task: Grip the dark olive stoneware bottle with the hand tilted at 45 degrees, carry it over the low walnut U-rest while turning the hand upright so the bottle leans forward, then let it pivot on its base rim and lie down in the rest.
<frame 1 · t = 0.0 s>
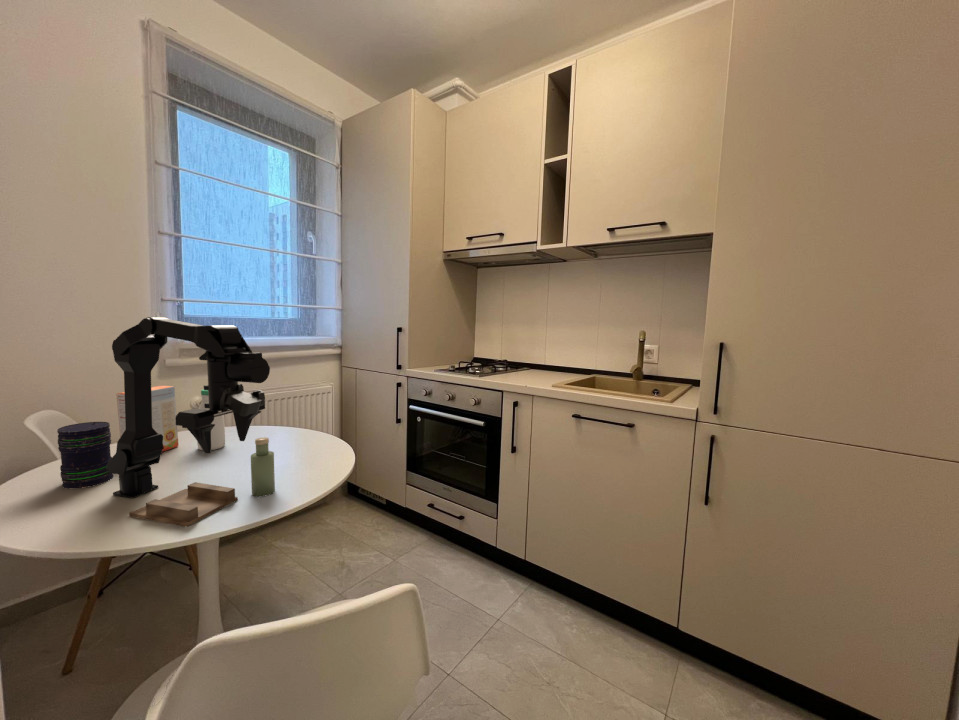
hand: (225, 446, 90), 15 cm above the table, tool pointing down, fingers open, 9 cm apart
cracker box: (151, 453, 126), on the table
walnut U-rest: (182, 507, 91), on the table
milk bottle: (211, 447, 132), on the table
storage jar: (88, 481, 104), on the table
olive bottle: (263, 492, 100), on the table
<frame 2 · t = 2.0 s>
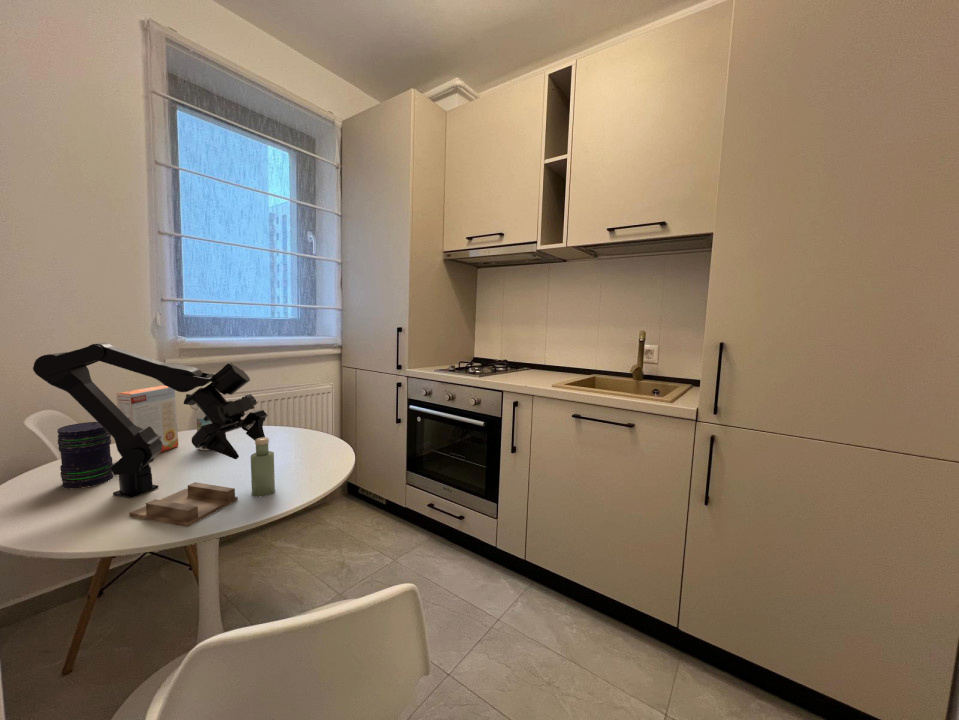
hand: (252, 451, 100), 10 cm above the table, tool tilted 45°, fingers open, 9 cm apart
nothing on the table moved.
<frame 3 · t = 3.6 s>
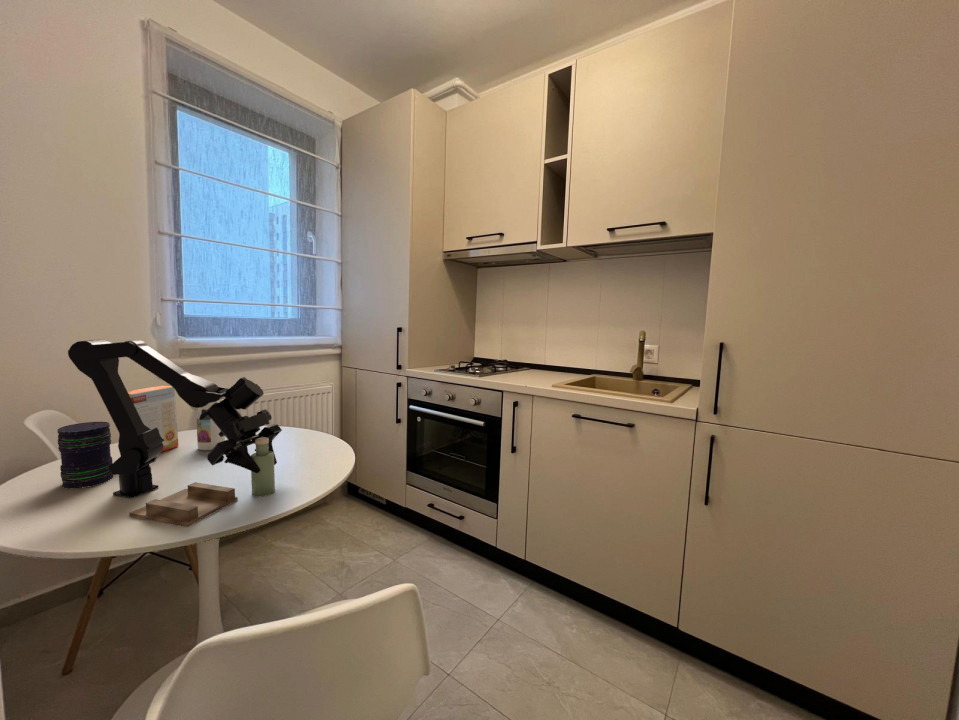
hand: (267, 467, 99), 7 cm above the table, tool tilted 45°, fingers closed on olive bottle, 5 cm apart
olive bottle: (263, 492, 100), on the table, touching gripper
everything else where it was.
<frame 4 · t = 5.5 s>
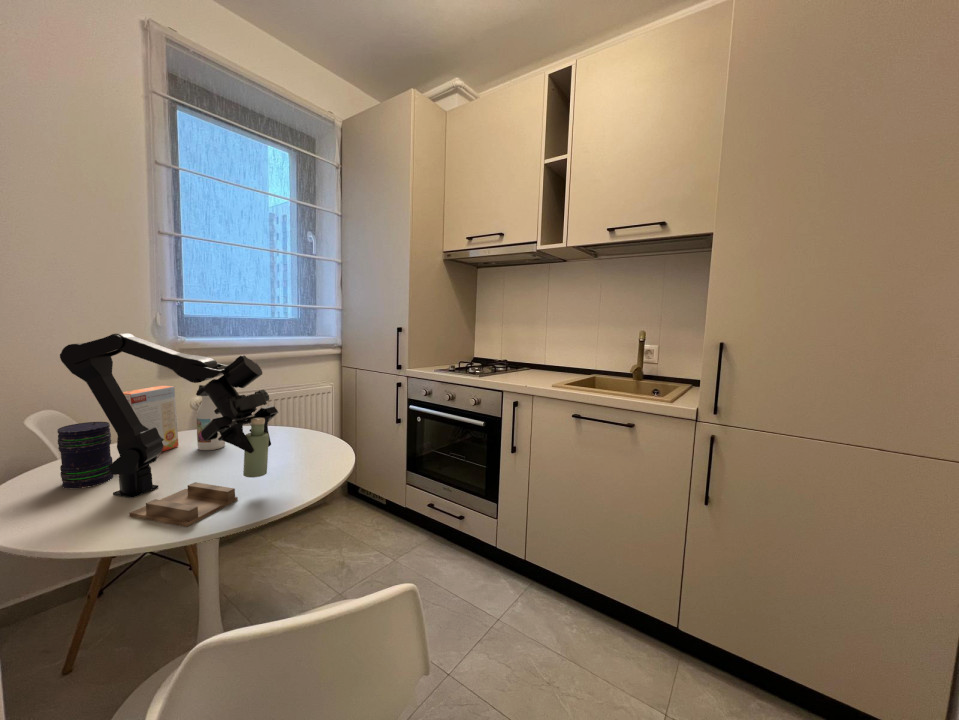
hand: (261, 448, 98), 12 cm above the table, tool tilted 40°, fingers closed on olive bottle, 5 cm apart
olive bottle: (255, 473, 98), point 5 cm above the table, touching gripper
everything else where it was.
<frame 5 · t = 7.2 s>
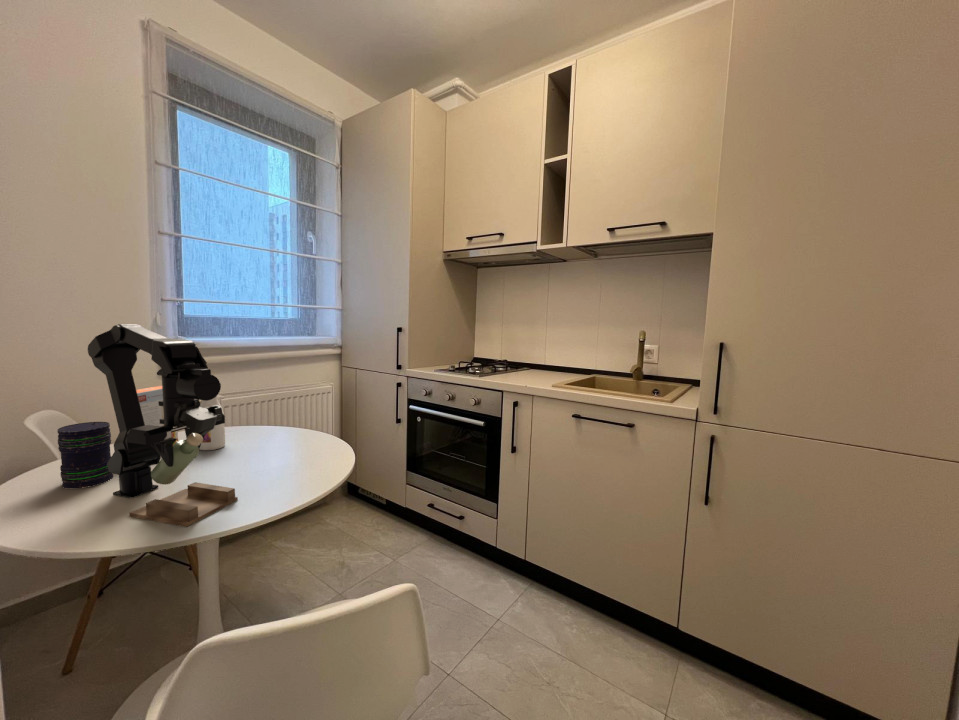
hand: (182, 462, 90), 11 cm above the table, tool pointing down, fingers closed on olive bottle, 5 cm apart
olive bottle: (164, 474, 92), point 7 cm above the table, tilted 45°, touching gripper
everything else where it was.
when the fingers open (7 cm above the table, at t = 8.9 s): olive bottle moves 2 cm and tips over, resting on walnut U-rest.
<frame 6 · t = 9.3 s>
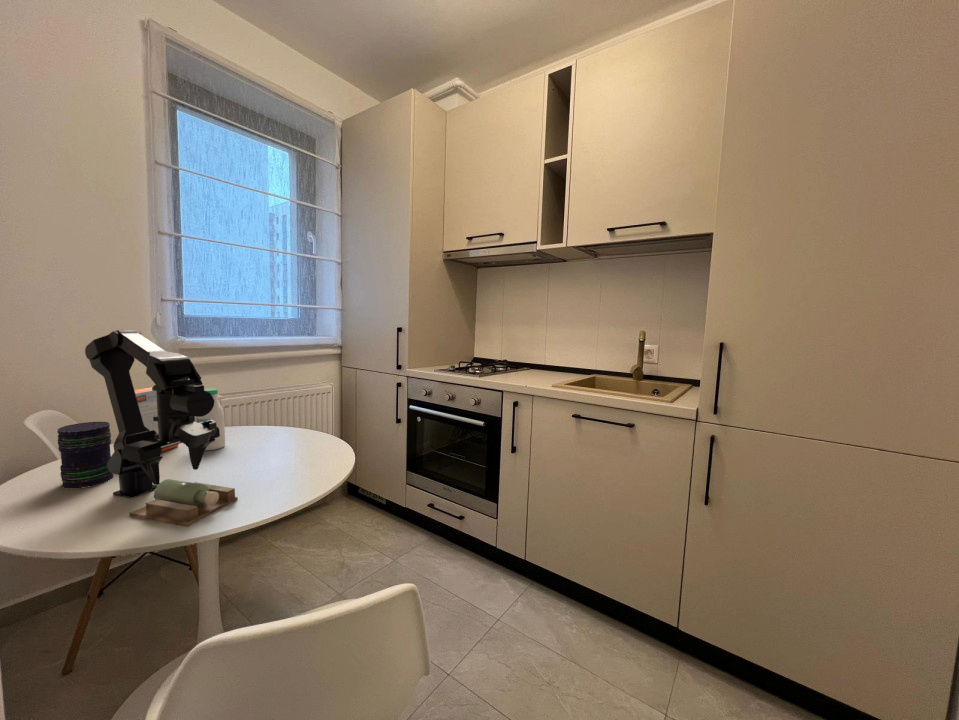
hand: (176, 476, 91), 7 cm above the table, tool pointing down, fingers open, 9 cm apart
olive bottle: (165, 490, 92), point 3 cm above the table, tilted 90°, touching walnut U-rest
everything else where it was.
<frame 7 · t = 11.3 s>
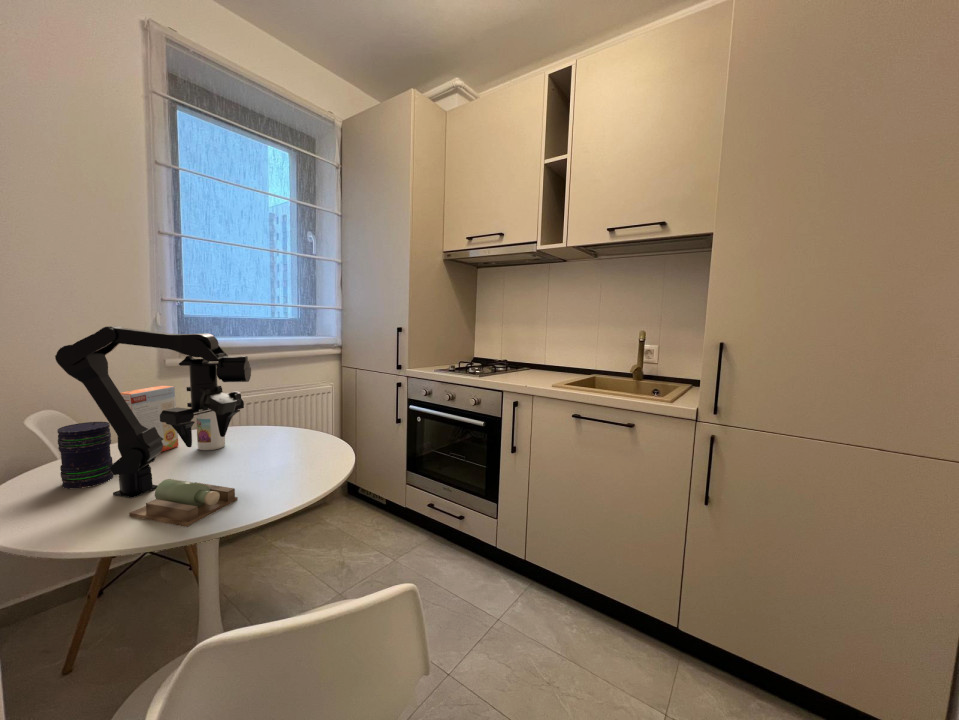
hand: (206, 441, 102), 12 cm above the table, tool pointing down, fingers open, 9 cm apart
nothing on the table moved.
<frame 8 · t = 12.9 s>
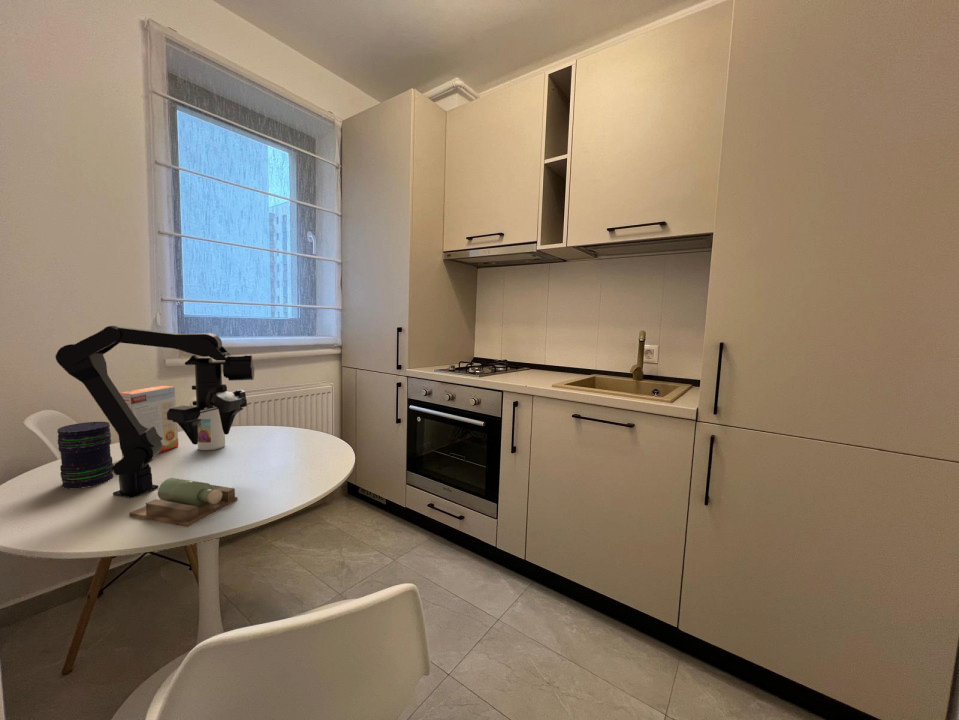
hand: (211, 439, 104), 12 cm above the table, tool pointing down, fingers open, 9 cm apart
nothing on the table moved.
at the end: olive bottle tilted 90°; olive bottle inside the target area on the walnut U-rest (1.3 cm from its centre), point 3.4 cm above the walnut U-rest's base; olive bottle touching walnut U-rest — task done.
